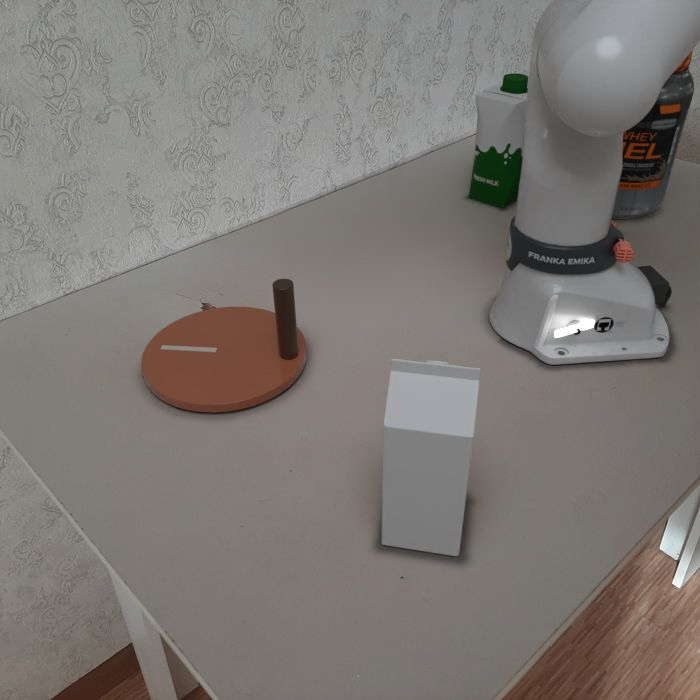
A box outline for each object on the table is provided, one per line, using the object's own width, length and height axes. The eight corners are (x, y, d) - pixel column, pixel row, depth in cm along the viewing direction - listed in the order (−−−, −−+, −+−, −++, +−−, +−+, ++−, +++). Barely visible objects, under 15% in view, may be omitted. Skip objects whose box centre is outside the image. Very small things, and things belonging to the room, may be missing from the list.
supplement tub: (555, 210, 121) (582, 49, 106) (580, 177, 132) (608, 27, 117) (652, 230, 115) (696, 63, 99) (670, 194, 126) (712, 37, 110)
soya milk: (530, 194, 126) (547, 78, 115) (504, 212, 121) (519, 92, 109) (488, 181, 131) (500, 68, 119) (460, 198, 126) (470, 81, 114)
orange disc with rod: (317, 317, 96) (313, 242, 89) (291, 417, 80) (284, 335, 73) (171, 310, 97) (157, 236, 91) (118, 407, 81) (96, 326, 75)
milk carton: (458, 558, 65) (478, 398, 53) (381, 546, 66) (384, 387, 55) (464, 499, 70) (483, 343, 59) (393, 489, 71) (397, 334, 60)
